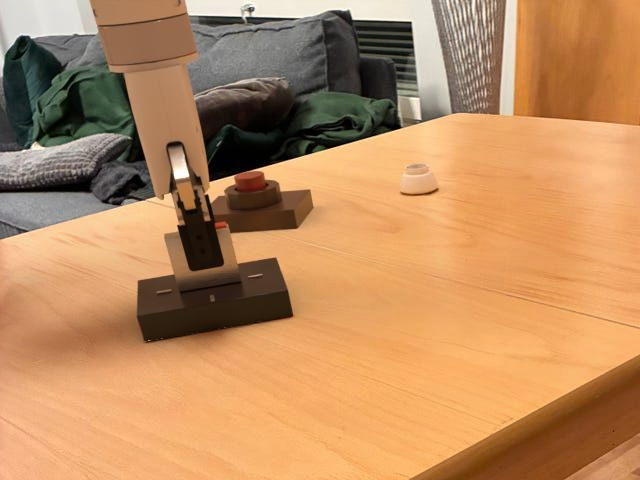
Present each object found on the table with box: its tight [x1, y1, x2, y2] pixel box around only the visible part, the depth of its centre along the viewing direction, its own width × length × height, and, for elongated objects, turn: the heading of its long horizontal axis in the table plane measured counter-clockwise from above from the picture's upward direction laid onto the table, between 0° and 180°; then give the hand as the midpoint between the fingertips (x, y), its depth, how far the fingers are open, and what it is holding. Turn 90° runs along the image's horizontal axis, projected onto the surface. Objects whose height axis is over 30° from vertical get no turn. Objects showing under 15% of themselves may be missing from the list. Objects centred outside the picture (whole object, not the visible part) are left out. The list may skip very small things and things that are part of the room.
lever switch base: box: [136, 256, 294, 342], centre depth 94 cm, size 14×11×3 cm
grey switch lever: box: [163, 222, 241, 292], centre depth 92 cm, size 6×2×5 cm, turn 105°
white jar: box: [398, 162, 440, 196], centre depth 124 cm, size 5×3×5 cm
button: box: [233, 170, 267, 192], centre depth 117 cm, size 4×4×2 cm
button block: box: [210, 179, 315, 234], centre depth 118 cm, size 12×9×4 cm
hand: (205, 253), depth 92 cm, fingers open, 9 cm apart
